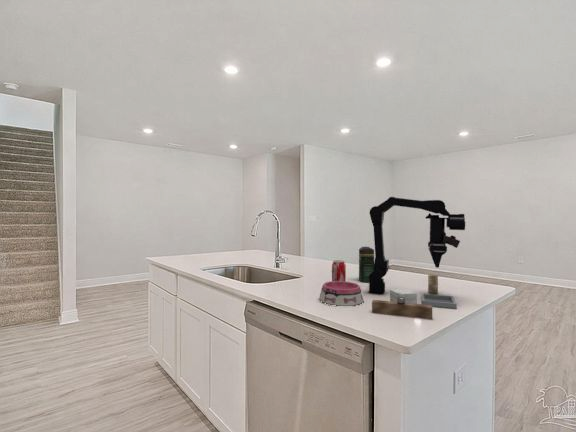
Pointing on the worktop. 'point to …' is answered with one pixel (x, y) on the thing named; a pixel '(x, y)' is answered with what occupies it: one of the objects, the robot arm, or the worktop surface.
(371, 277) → the robot arm
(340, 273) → the soda can
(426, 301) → the tray
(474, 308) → the worktop surface
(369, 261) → the coffee jar
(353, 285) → the dog bowl
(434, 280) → the dowel
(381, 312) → the stop rail
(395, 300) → the small box
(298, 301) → the worktop surface
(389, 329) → the worktop surface
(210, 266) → the worktop surface
